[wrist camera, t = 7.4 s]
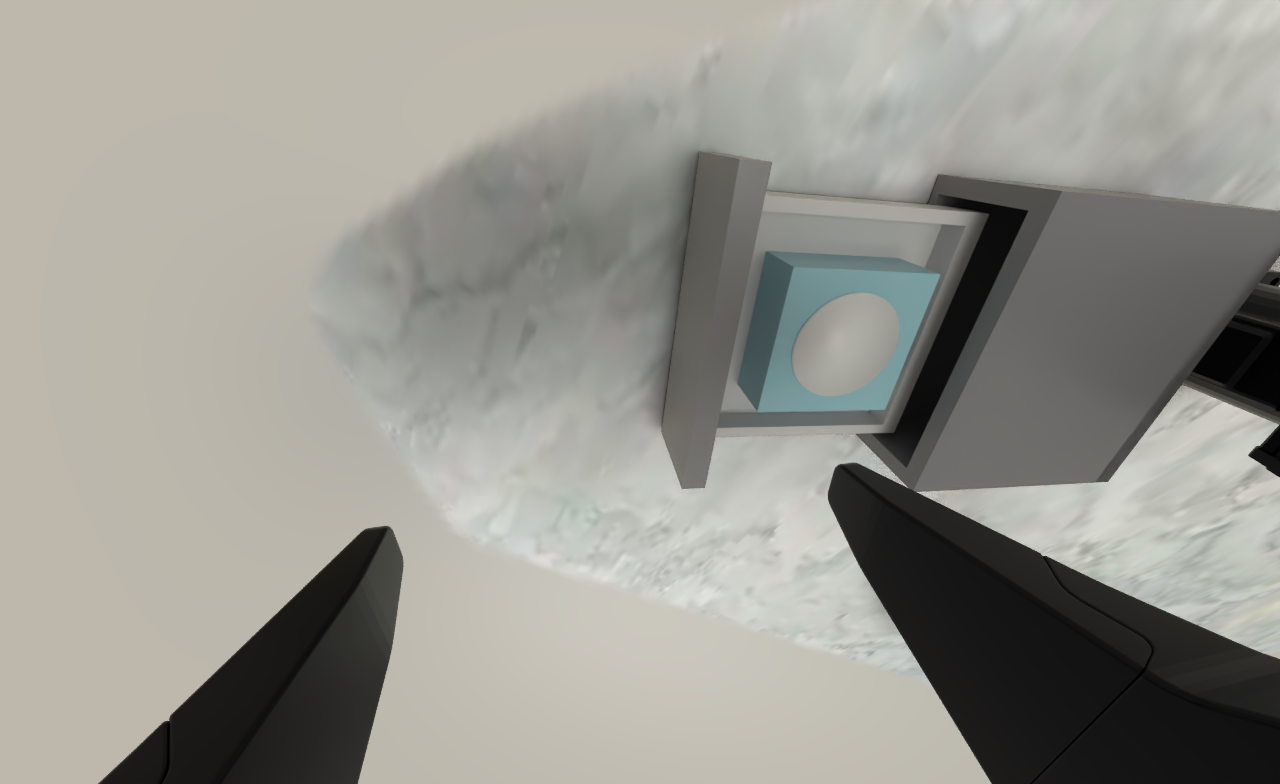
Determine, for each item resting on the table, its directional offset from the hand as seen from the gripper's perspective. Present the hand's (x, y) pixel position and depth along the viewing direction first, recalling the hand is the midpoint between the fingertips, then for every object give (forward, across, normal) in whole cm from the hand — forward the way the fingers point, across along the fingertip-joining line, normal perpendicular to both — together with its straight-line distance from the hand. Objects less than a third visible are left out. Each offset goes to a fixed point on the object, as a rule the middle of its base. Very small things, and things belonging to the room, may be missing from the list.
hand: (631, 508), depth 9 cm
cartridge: (+10, -10, +1) cm, 15 cm away
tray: (+12, -10, +1) cm, 16 cm away
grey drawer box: (+11, -20, +2) cm, 23 cm away
